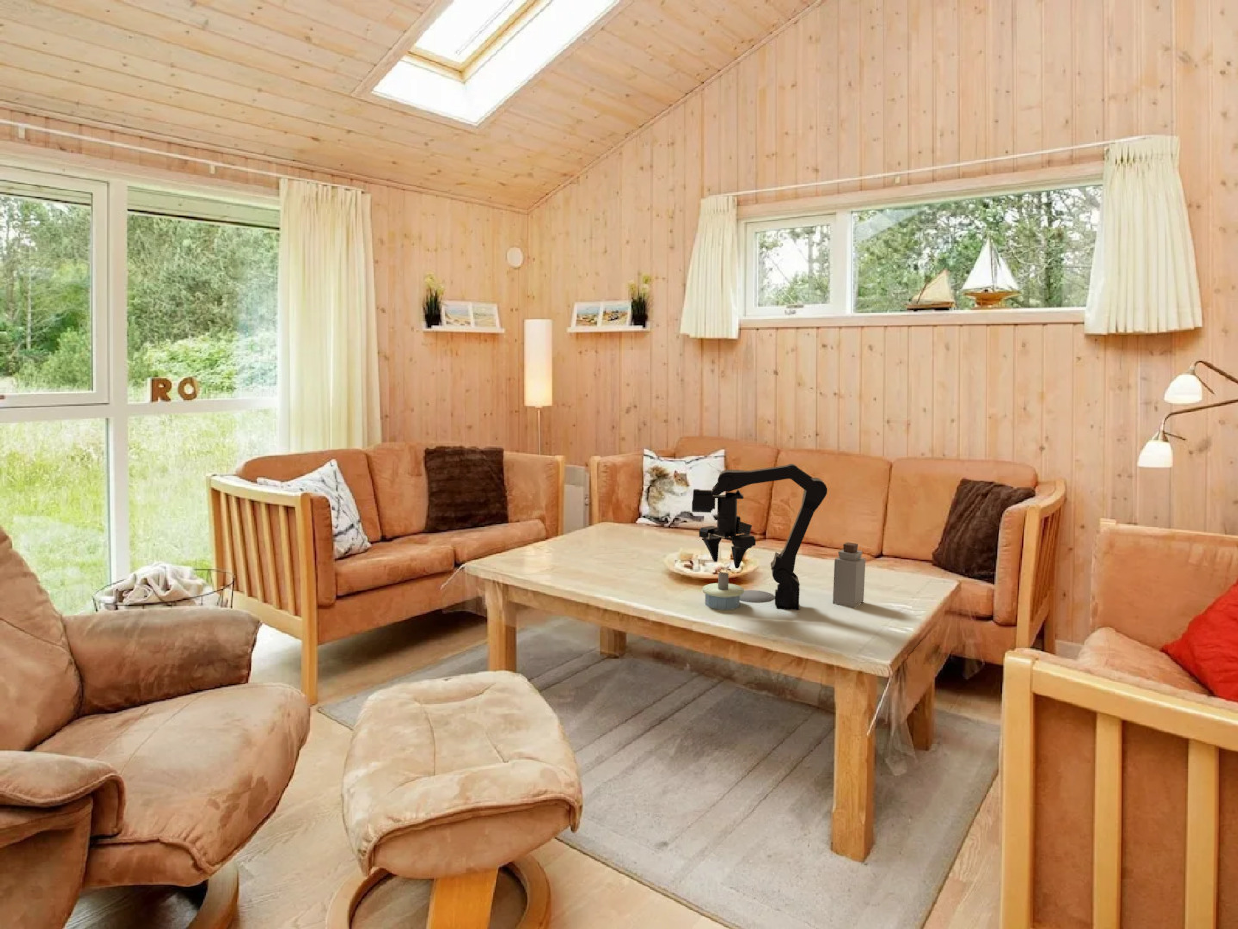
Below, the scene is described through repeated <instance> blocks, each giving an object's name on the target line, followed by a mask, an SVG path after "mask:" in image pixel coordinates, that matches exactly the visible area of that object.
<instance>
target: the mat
mask: <svg viewBox="0 0 1238 929" xmlns="http://www.w3.org/2000/svg"><path fill="white" fill-rule="evenodd" d="M773 601H775V594H773V593H770V592H768V591H763V590H758V589H757V590H756V589H754V590H753V589H745V590H744V593H743V594H742V595H740V602H745V603H753V604H754V603H755V604H760V603H761V604H762V603H770V602H773Z"/></svg>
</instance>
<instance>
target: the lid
mask: <svg viewBox="0 0 1238 929" xmlns="http://www.w3.org/2000/svg"><path fill="white" fill-rule="evenodd" d="M717 578H718V579H717V580H718V581H717V582H715V583H714V582H713V583H709V584H705V585H703V586H702V592H703V593H704V594H707V595H710V596H715V597H736V596H740V595H742V594H743V593H744V588H743V587H742V586H740V585H738V584H734V583H730V582H729V579H730V578H729V573H728V572H719V573H718V575H717Z"/></svg>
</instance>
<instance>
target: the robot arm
mask: <svg viewBox="0 0 1238 929" xmlns="http://www.w3.org/2000/svg"><path fill="white" fill-rule="evenodd" d="M782 480H783V481H784V480H791V481H793V482H794V483H795V484H797V485H798V486H799V487H801V489H803V493H802V499H801V505H800V508H799V511H798V513H797V516H796V518H795V519H794V520H795V521H794V523H793V525H792V528H791V530H790V533H789V535H788V538H787V541H786V543H785V545H784V547H783V548H782V550H781V552H780V553H778V552H777V551H775V552H774V556H773V560H772V561H771V562H770V569H771V575H772V578H773V580H774V581H775V582H776V583H777V586H776V587H777V588H776V589H774V596H775V599H774V605H775V606H776V609H777V610H787V611H788V610H790V611H791V610H792V611H800V585H801V584H800V580H799V577H798V575H797V574H796V573H795V572H794V571H795V565H796V558H797V554H798V552H799V549H800V548H801V545H802V542H803V540H804V537H805V535H806V532H807V530H808V528H809V525H810V523H811V520H812V518H813V516H814V513H815V512H816V510H817V509H818V508H819V506H821V504H822V502H823V501H824V499H825V498H826V496H827V494H828V488H827V487H828V486H827V485H826V483H825V481H823V480H822V479H821V478H819V477H812V476H811V475H809V474H808V473H806V472H805V471H804V470H802V469H800V468H799V467H798V465H796V464H794V463H789V464H787V465H779V466H773V467H765V468H759V469H753V470H752V469H751V470H745V469H744V470H743V469H724V470H722V471H721V472H720V473H719V475H718V477H717V482H716V484H715V485H713V486H712V488H711V489H700V488H694V489H693V490H692V501H691V512H692V513H706V514H707V513H708V514H709V513H710V514H711V513H712V511H713V510H716V509H717V512H716V513H717V515H715V516H713V518H714V519H713V520H715V521H716V526H714V525H708V526H702V527H701V528H700V529H699V530H698V537H699V538H701V541H703V543H704V544H705V546H706V548H707V550H708V553H709V554H710V556H711V559H712V560H713V562H714V563H717V562H718V560H719V547H720V546H719V544H720V542H721V540H722V539H723V540H726V541H731V543H732V546H731V553H732V559H733V563H734V568H735V569H739V568H740V566H741V563H742V561H743V558H744V556H745V554H746V552H747V550H749V549H751V548H752V547H755V546H756V543H757V542H756V540H757V538H756V537H755V536H754V535H752V534H751V531H752V528H753V525H752V524H749V523H745V522H743V521H741V516H738V500H742V499H744V497H745V496H744V494H742V492H741V491H740V489H741V488H745V487H746V486H750V485H754V484H761V483H769V482H777V481H782ZM724 492H725V494H723V493H724ZM716 499H717V508H716Z"/></svg>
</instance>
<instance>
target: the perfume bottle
mask: <svg viewBox="0 0 1238 929" xmlns="http://www.w3.org/2000/svg"><path fill="white" fill-rule="evenodd" d="M842 545H843V549H841V550H838V551H837V553H838V554H837V555H838V557H837V558H834V564H833V565H834V566H833V567H834V568H833V587H832V588H833V591H832V592H833V593H832V604H835V603H836V604H835V605H839V604H840V605H841V606H844V605H845V607H849V608H850V607H851V608H854V607H855V608H857V607H859V606H860V605H861V604H862V603H861V602H863V601H864V602H865V598H864V597H865V580H866V579H865V577H866V576H865V575H866V558H864V557H862V554H863V551H862V550H858V547H859V543H856V542H855V543H854V542H845V543H843V544H842ZM864 602H863V603H864ZM860 603H861V604H860ZM859 604H860V605H859Z"/></svg>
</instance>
